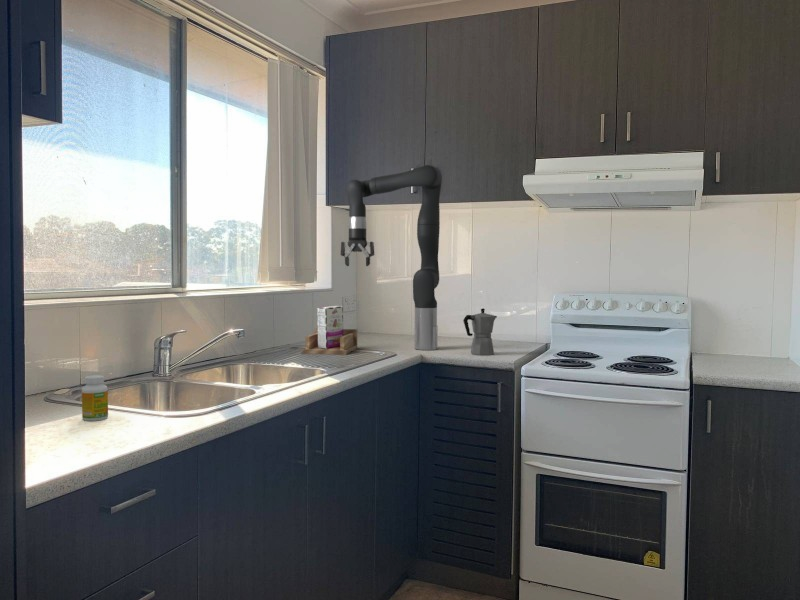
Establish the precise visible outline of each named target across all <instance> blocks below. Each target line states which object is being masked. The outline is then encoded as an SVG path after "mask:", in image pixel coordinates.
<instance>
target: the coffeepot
mask: <svg viewBox="0 0 800 600" xmlns="http://www.w3.org/2000/svg"><path fill="white" fill-rule="evenodd" d="M485 310H486V308H483V307H482V308H480V313H475V314H467V315H465V317H464V318H463V320H462V321H463V325H464V328H465V331H466V335H467V336H469V337H472V336H473V338H472V342H471V347H470V348H471V349H470V354H471V355H473V356H492V355H494V354H495V352H494V345H493V338H492V333H493V328H494V324H495V323H494V322H495V320H496V319H497V317H498V316H497V315H494V314H489V313H486V312H485ZM468 321H471V326H472V332H473V333H472V332H470V331H471V330H470V329H471V328H470V327H469V322H468Z"/></svg>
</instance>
